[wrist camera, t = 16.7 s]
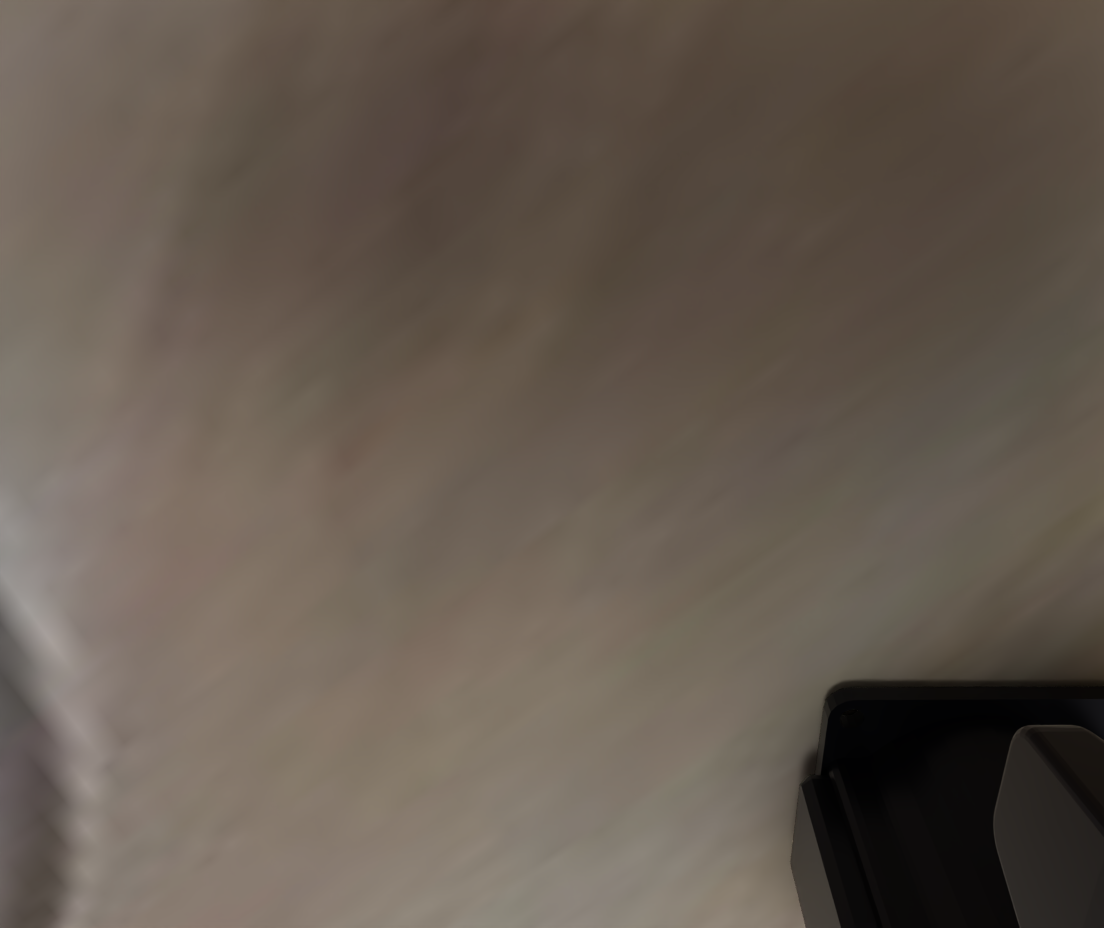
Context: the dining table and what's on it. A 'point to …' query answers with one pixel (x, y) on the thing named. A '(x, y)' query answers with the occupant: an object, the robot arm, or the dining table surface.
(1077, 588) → the dining table surface
